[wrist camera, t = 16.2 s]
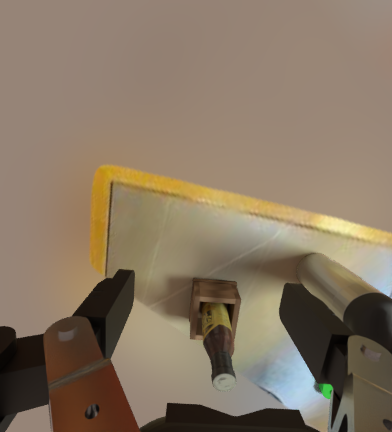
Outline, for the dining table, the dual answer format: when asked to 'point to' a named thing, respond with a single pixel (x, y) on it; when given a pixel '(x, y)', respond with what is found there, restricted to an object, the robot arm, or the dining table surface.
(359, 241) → the dining table surface
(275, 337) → the dining table surface
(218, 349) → the sauce bottle
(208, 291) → the bottle caddy
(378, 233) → the dining table surface
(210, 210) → the dining table surface
